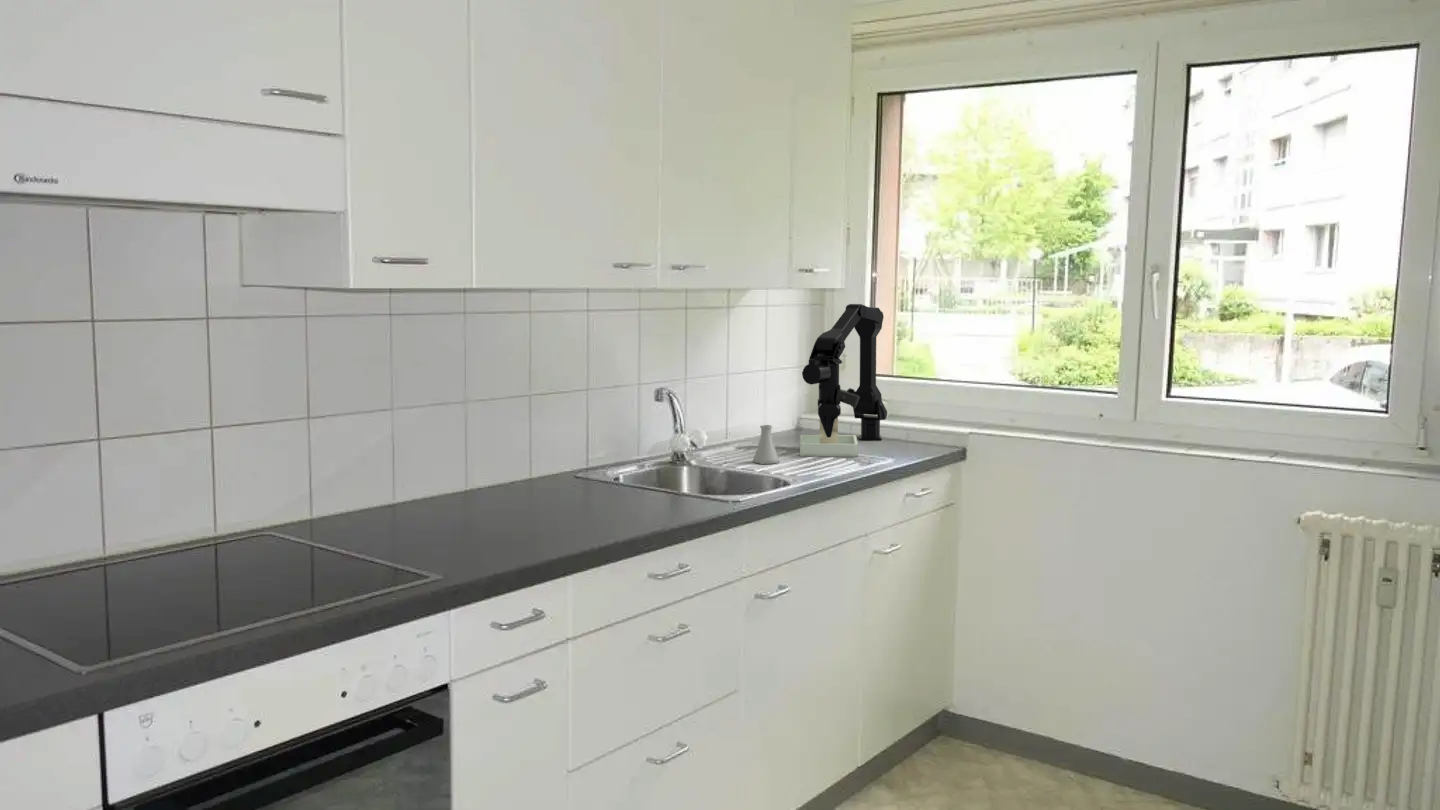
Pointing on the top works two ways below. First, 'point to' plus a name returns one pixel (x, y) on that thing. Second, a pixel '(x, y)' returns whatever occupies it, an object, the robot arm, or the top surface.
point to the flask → (766, 448)
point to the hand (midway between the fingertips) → (828, 435)
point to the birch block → (834, 435)
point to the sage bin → (828, 446)
